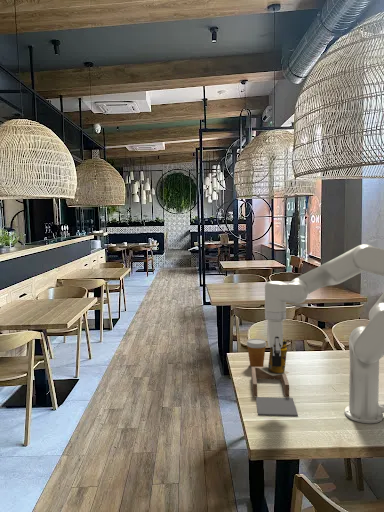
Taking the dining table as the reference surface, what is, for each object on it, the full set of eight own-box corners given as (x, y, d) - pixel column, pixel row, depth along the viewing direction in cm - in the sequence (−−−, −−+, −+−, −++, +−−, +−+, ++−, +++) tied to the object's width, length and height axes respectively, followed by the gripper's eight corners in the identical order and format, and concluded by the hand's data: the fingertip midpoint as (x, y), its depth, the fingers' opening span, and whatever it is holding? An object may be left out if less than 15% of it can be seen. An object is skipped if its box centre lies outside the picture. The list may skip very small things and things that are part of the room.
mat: (292, 399, 161) (292, 397, 161) (297, 416, 147) (297, 414, 147) (256, 398, 162) (256, 397, 162) (257, 415, 148) (257, 413, 148)
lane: (283, 378, 182) (283, 367, 182) (289, 397, 163) (289, 384, 162) (251, 377, 184) (251, 366, 183) (253, 396, 164) (253, 384, 164)
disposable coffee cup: (245, 362, 204) (245, 338, 203) (265, 362, 203) (265, 338, 202) (247, 369, 194) (247, 344, 193) (268, 369, 194) (267, 343, 193)
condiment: (289, 373, 152) (293, 341, 151) (272, 376, 148) (276, 343, 146) (275, 366, 158) (278, 335, 157) (258, 369, 154) (262, 337, 153)
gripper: (263, 310, 161) (264, 355, 162) (266, 320, 143) (267, 371, 145) (283, 310, 160) (283, 355, 161) (288, 320, 143) (289, 371, 144)
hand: (275, 362), depth 153 cm, fingers closed on condiment, 6 cm apart
